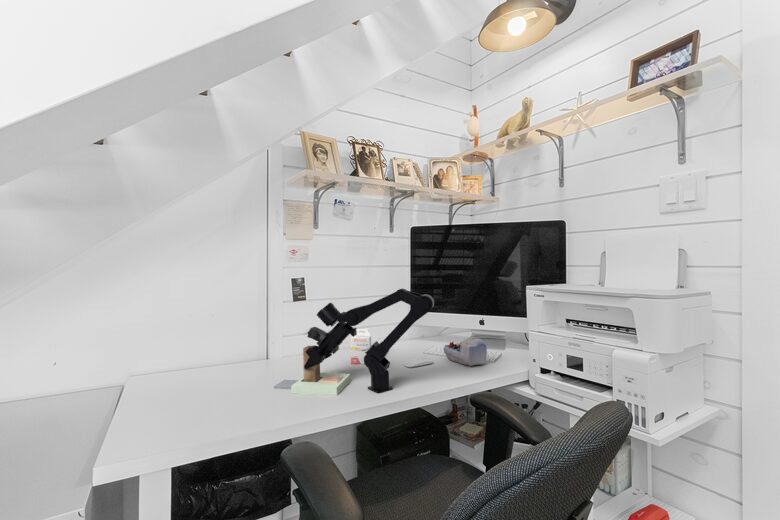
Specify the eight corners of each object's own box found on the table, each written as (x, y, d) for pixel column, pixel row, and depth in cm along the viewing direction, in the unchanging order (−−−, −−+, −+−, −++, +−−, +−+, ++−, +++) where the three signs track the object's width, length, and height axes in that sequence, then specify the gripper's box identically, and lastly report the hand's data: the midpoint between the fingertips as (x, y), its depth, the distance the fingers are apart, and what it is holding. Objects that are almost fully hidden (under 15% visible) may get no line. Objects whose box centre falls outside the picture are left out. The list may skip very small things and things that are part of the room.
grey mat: (304, 382, 140) (304, 380, 140) (294, 389, 132) (294, 387, 132) (284, 381, 141) (284, 379, 141) (273, 388, 134) (273, 386, 134)
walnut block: (320, 384, 137) (319, 345, 137) (315, 388, 132) (314, 348, 133) (308, 384, 138) (308, 345, 138) (303, 387, 133) (303, 348, 133)
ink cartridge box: (350, 364, 164) (350, 330, 164) (352, 361, 169) (352, 328, 169) (370, 364, 163) (369, 330, 163) (371, 361, 168) (371, 328, 168)
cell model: (468, 342, 152) (439, 336, 169) (469, 369, 152) (440, 360, 169) (492, 338, 158) (462, 332, 176) (494, 364, 158) (463, 356, 175)
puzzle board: (350, 380, 141) (350, 370, 141) (336, 395, 125) (336, 383, 125) (310, 378, 144) (309, 368, 144) (291, 393, 128) (291, 381, 128)
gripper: (330, 316, 144) (303, 344, 146) (310, 323, 125) (280, 356, 127) (350, 337, 142) (323, 365, 144) (333, 347, 124) (303, 380, 126)
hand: (308, 366), depth 135 cm, fingers open, 5 cm apart
